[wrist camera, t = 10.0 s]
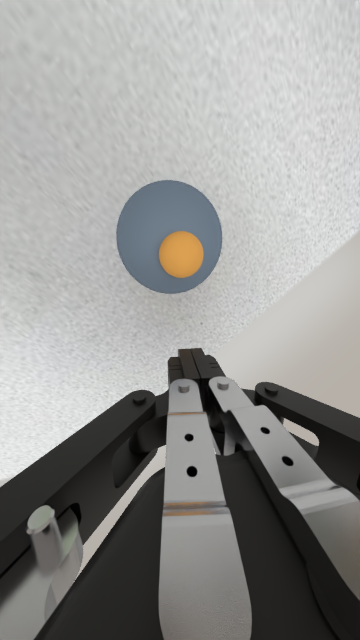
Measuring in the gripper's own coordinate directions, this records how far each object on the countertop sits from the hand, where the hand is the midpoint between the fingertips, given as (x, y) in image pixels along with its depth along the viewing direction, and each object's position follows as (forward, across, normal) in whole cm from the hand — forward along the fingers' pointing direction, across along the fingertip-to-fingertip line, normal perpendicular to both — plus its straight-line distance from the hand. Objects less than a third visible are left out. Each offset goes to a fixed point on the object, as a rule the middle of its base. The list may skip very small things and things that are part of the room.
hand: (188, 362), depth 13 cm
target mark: (+17, 0, -9) cm, 19 cm away
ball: (+14, -1, -7) cm, 16 cm away
